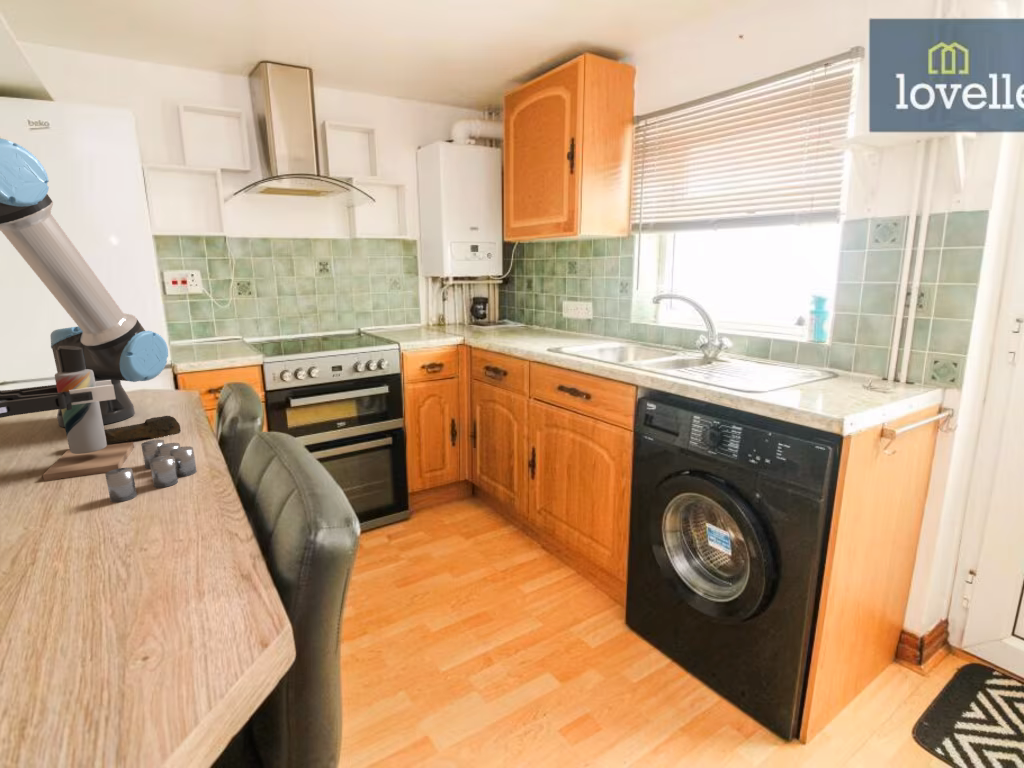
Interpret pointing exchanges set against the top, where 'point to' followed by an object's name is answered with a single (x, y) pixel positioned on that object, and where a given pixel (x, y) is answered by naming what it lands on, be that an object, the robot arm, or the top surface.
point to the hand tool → (144, 430)
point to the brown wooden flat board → (89, 462)
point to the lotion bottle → (82, 418)
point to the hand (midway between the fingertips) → (112, 389)
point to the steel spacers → (153, 469)
